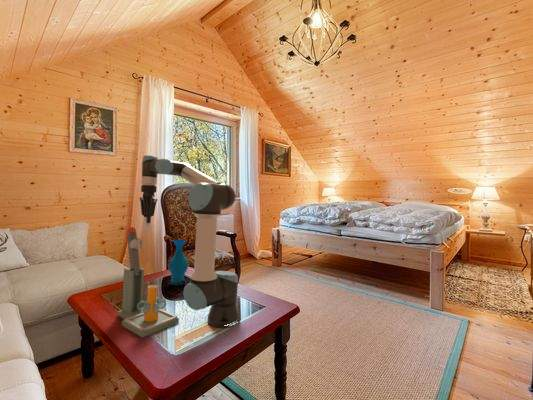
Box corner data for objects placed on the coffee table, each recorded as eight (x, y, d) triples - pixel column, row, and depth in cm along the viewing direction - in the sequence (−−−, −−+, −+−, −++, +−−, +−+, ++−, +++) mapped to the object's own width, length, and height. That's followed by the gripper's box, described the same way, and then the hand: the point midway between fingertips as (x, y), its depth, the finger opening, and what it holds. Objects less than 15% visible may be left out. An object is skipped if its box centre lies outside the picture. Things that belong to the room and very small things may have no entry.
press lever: (140, 225, 136) (133, 227, 140) (130, 226, 132) (123, 228, 135) (145, 275, 133) (138, 276, 136) (135, 277, 129) (128, 278, 132)
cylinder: (153, 327, 119) (155, 292, 119) (131, 323, 121) (133, 289, 121) (169, 315, 131) (170, 283, 131) (149, 312, 133) (150, 281, 133)
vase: (163, 283, 181) (165, 240, 181) (178, 279, 192) (180, 238, 192) (176, 287, 175) (178, 243, 175) (191, 282, 186) (193, 240, 185)
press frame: (178, 322, 129) (181, 275, 128) (142, 337, 114) (144, 284, 113) (145, 306, 144) (147, 264, 144) (109, 318, 129) (111, 271, 129)
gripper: (162, 185, 148) (160, 230, 148) (148, 185, 155) (146, 227, 156) (149, 184, 142) (147, 231, 142) (135, 184, 149) (133, 228, 150)
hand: (146, 229), depth 149 cm, fingers closed
